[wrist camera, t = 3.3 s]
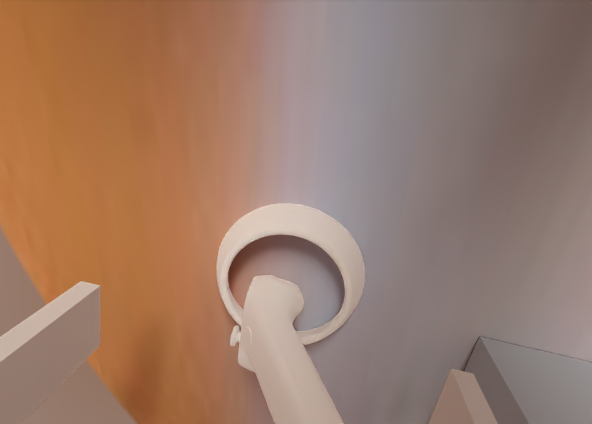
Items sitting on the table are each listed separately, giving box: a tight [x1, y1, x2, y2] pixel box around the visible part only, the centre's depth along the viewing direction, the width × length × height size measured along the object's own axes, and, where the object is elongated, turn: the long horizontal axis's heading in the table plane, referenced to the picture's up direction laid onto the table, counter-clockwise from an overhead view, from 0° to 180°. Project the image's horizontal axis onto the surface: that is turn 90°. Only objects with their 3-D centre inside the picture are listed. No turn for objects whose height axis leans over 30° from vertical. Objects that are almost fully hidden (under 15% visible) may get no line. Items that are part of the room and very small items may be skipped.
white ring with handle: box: [217, 203, 365, 424], centre depth 15 cm, size 8×12×7 cm
